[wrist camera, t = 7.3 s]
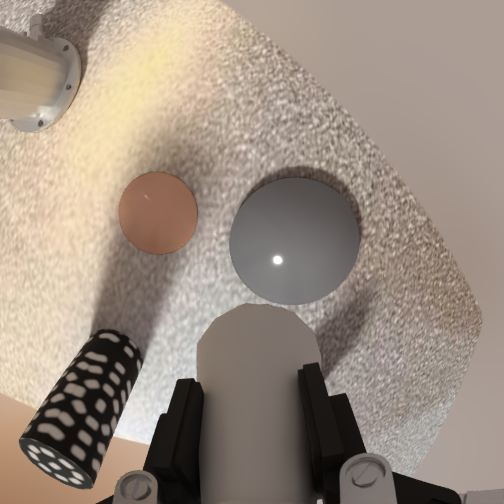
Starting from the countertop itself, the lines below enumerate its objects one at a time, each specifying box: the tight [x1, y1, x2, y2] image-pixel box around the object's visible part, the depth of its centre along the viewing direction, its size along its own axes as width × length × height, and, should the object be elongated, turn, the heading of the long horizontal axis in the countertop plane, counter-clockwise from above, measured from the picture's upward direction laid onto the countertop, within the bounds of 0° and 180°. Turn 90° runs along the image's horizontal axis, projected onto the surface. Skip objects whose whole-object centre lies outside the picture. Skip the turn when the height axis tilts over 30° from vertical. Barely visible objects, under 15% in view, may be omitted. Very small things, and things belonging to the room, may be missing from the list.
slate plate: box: [230, 177, 360, 305], centre depth 32 cm, size 14×14×1 cm
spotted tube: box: [19, 329, 143, 489], centre depth 28 cm, size 8×8×20 cm
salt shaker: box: [197, 303, 322, 504], centre depth 10 cm, size 6×6×13 cm
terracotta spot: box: [119, 172, 197, 254], centre depth 32 cm, size 9×9×1 cm
